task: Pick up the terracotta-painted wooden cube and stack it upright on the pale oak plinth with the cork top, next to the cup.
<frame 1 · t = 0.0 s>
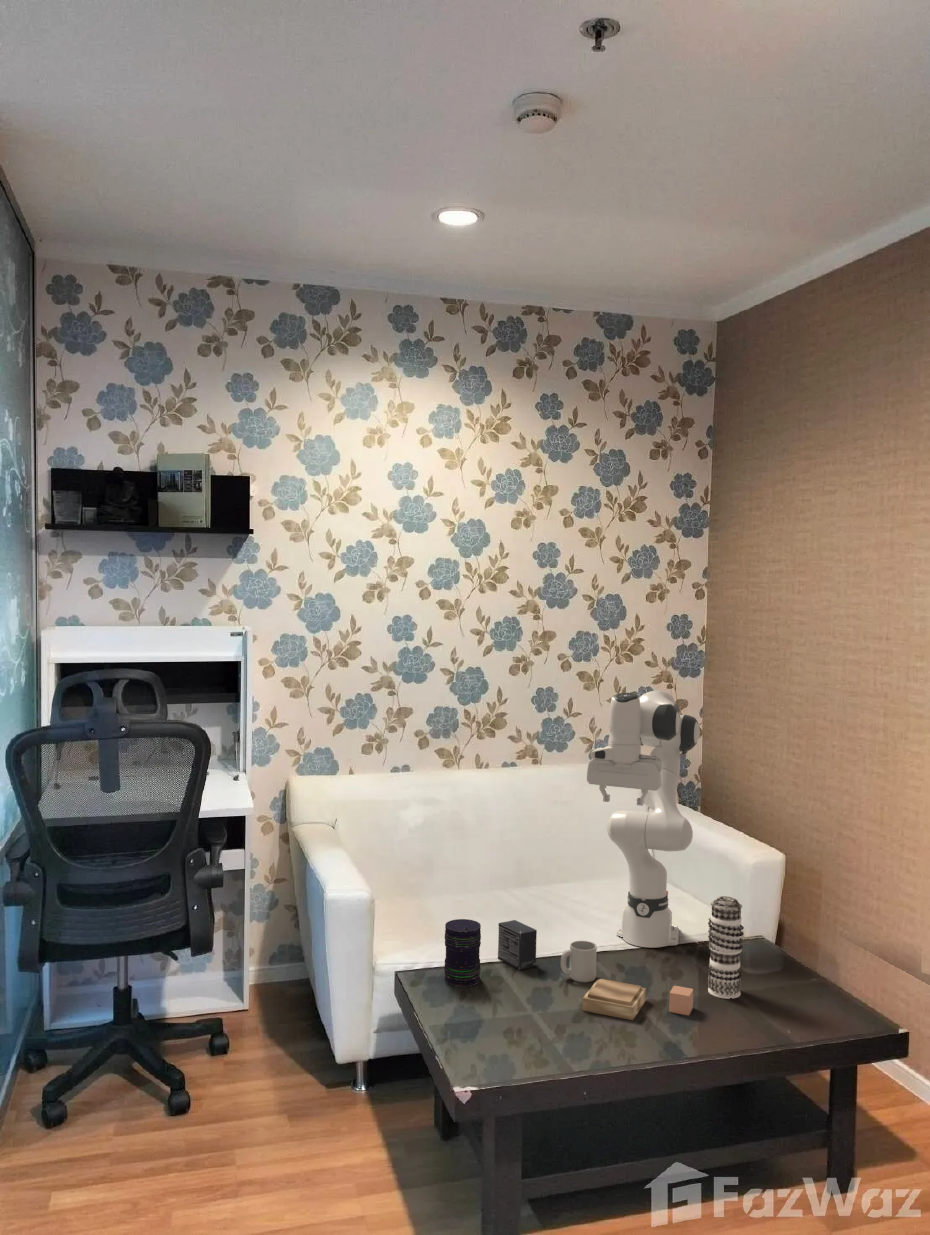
hand: (623, 803, 275), 48 cm above the table, fingers open, 8 cm apart
plinth: (614, 1005, 258), on the table
cup: (577, 978, 276), on the table
storage jar: (462, 980, 273), on the table
small box: (517, 963, 286), on the table
decorative candle: (724, 992, 267), on the table
cube: (681, 1010, 256), on the table
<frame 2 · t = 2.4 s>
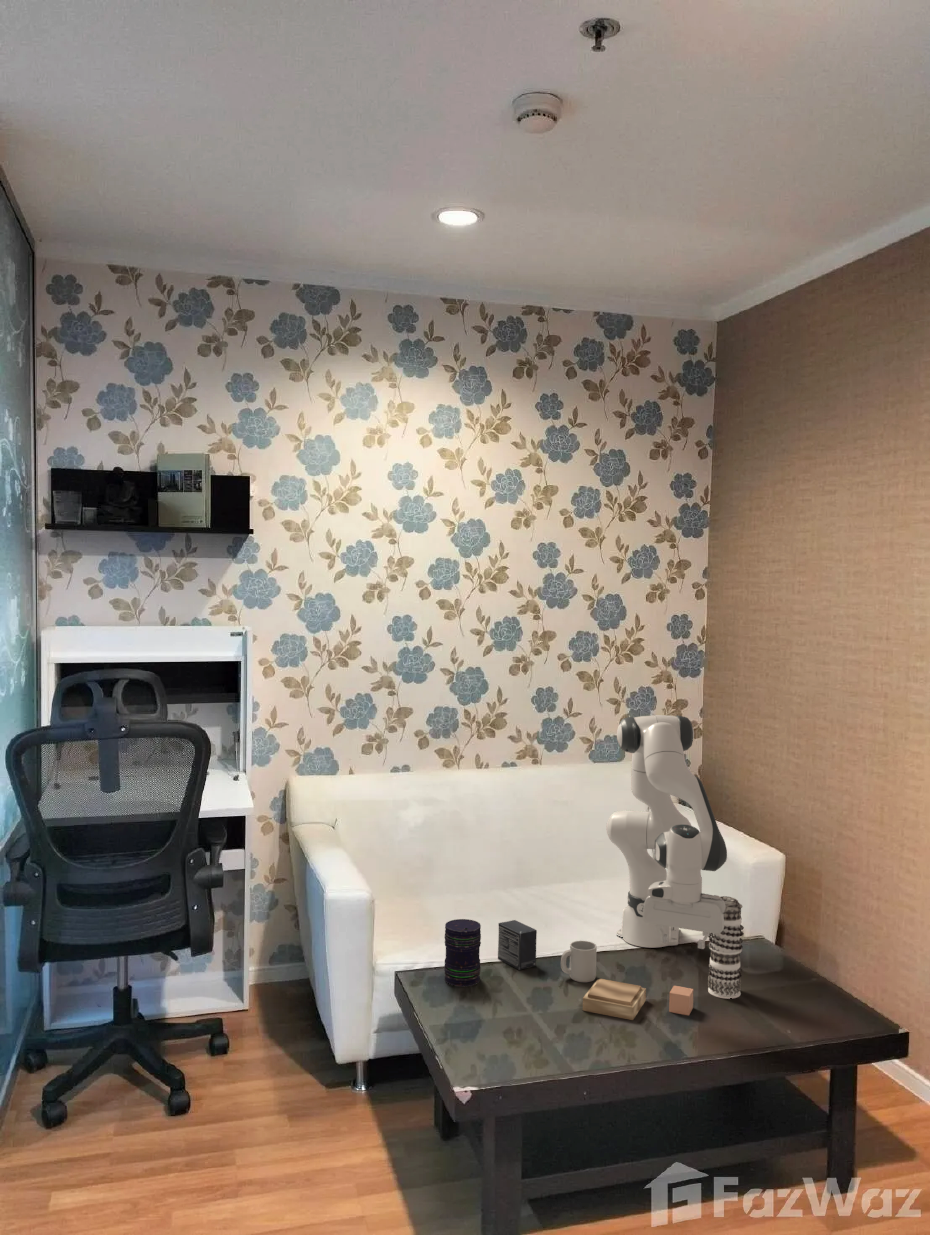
hand: (682, 944, 255), 17 cm above the table, fingers open, 8 cm apart
nothing on the table moved.
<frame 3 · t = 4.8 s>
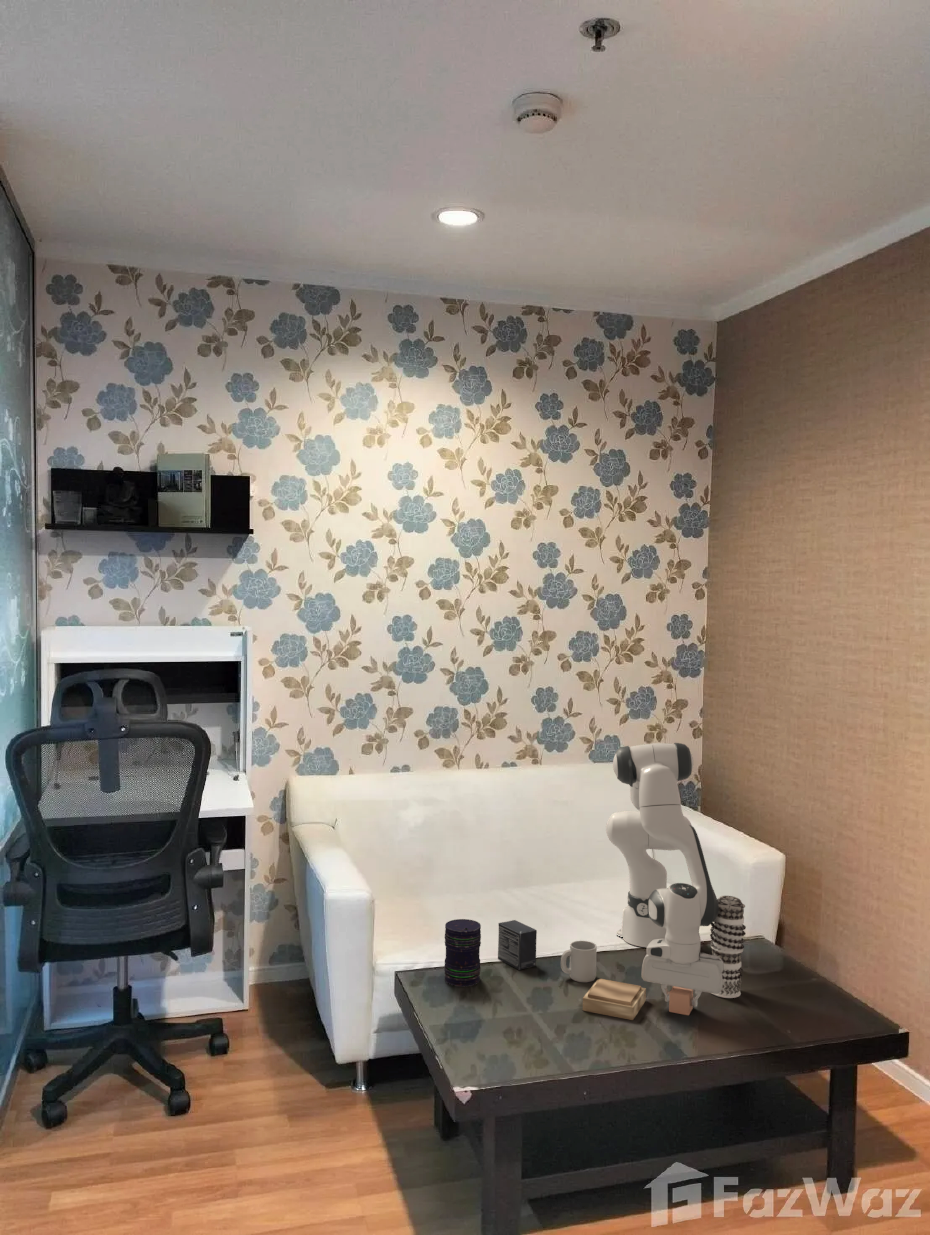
hand: (681, 1003, 256), 2 cm above the table, fingers closed on cube, 5 cm apart
decorative candle: (724, 992, 267), on the table, touching arm
cube: (681, 1009, 256), on the table, touching gripper
everything else where it was.
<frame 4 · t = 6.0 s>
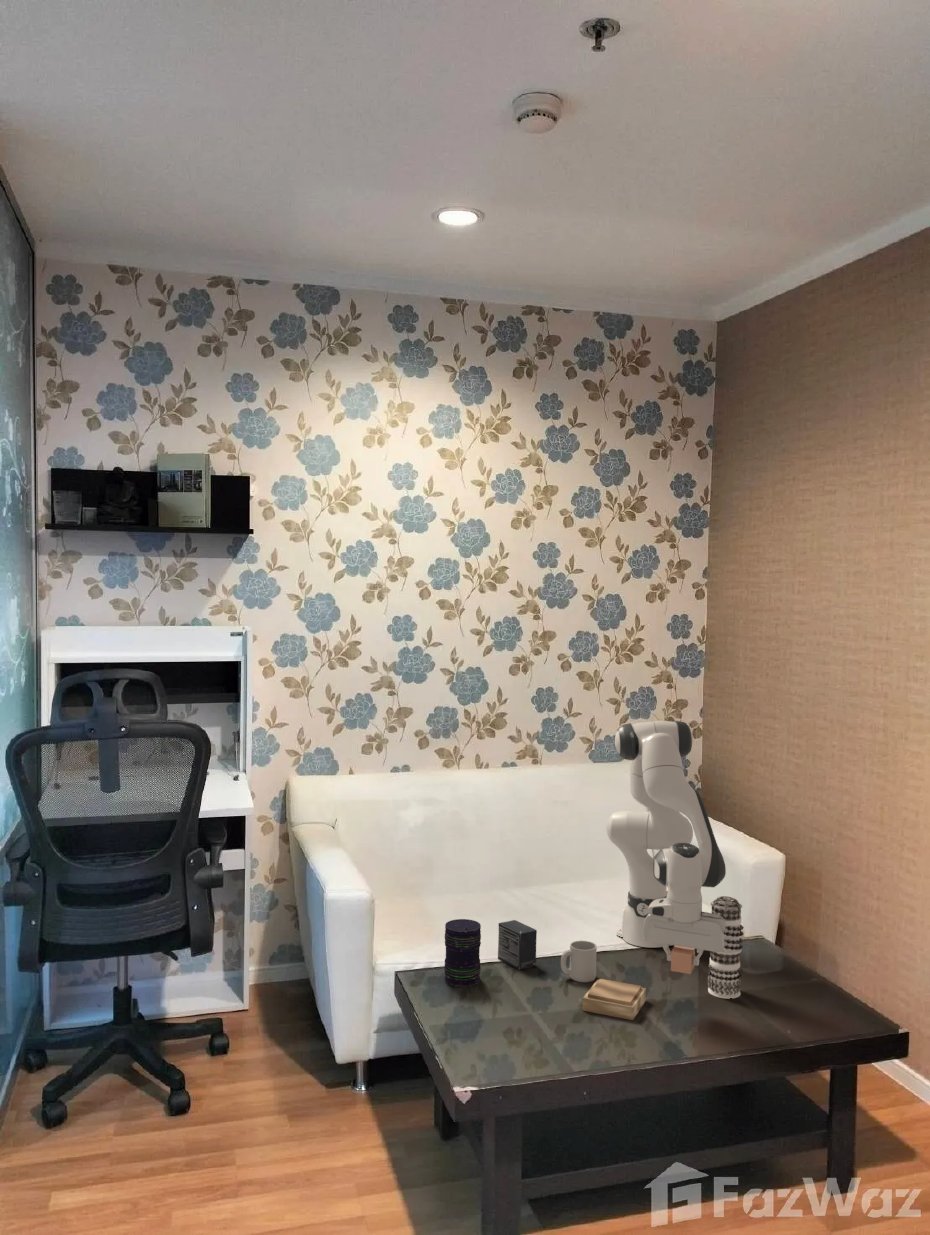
hand: (682, 962, 256), 12 cm above the table, fingers closed on cube, 5 cm apart
decorative candle: (723, 992, 267), on the table
cube: (682, 968, 256), point 10 cm above the table, touching gripper
everything else where it was.
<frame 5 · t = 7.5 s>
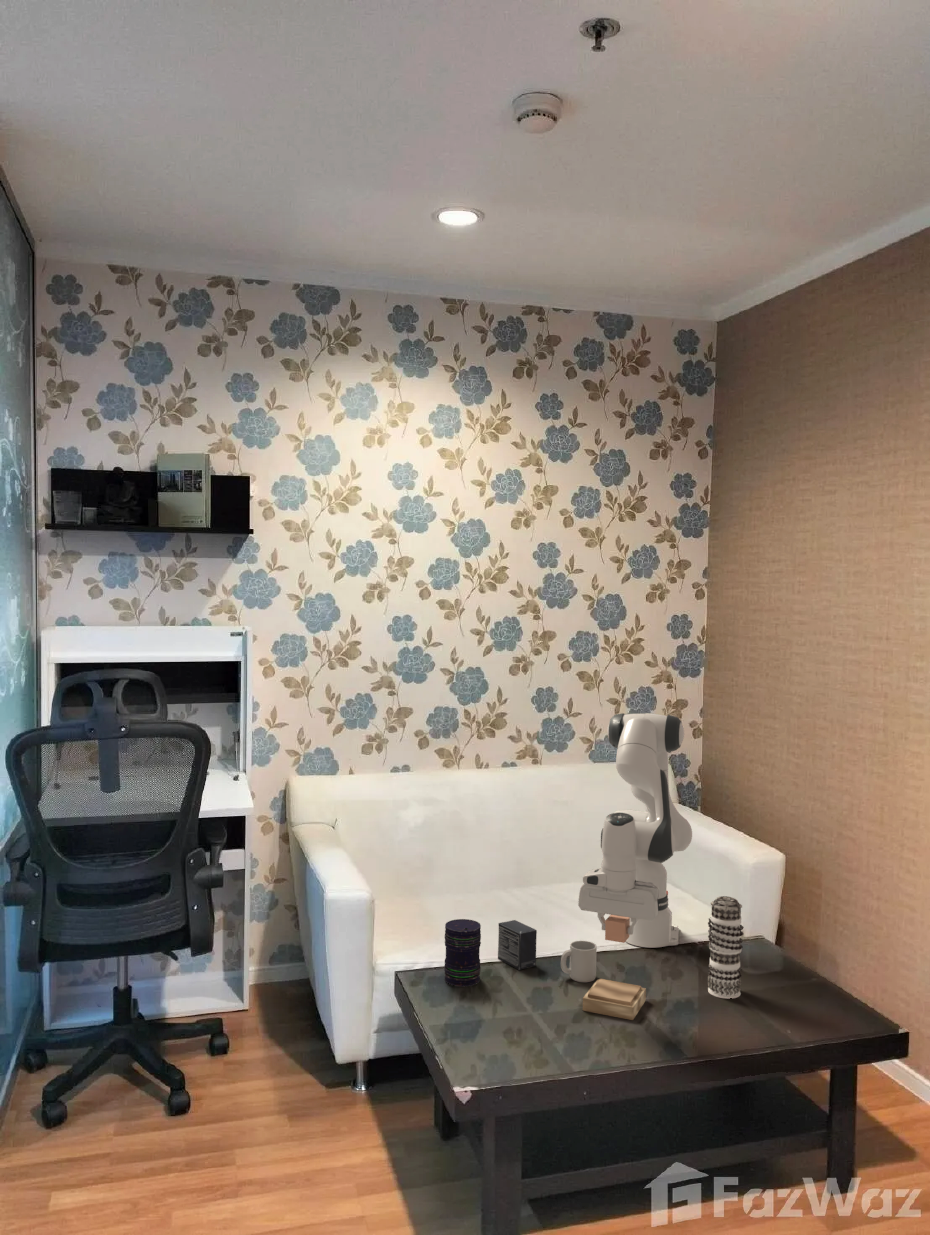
hand: (617, 931, 257), 19 cm above the table, fingers closed on cube, 5 cm apart
cube: (617, 938, 257), point 18 cm above the table, touching gripper
everything else where it was.
when the fingers open (7 cm above the table, at t = 10.6 s): cube drops 1 cm, resting on plinth.
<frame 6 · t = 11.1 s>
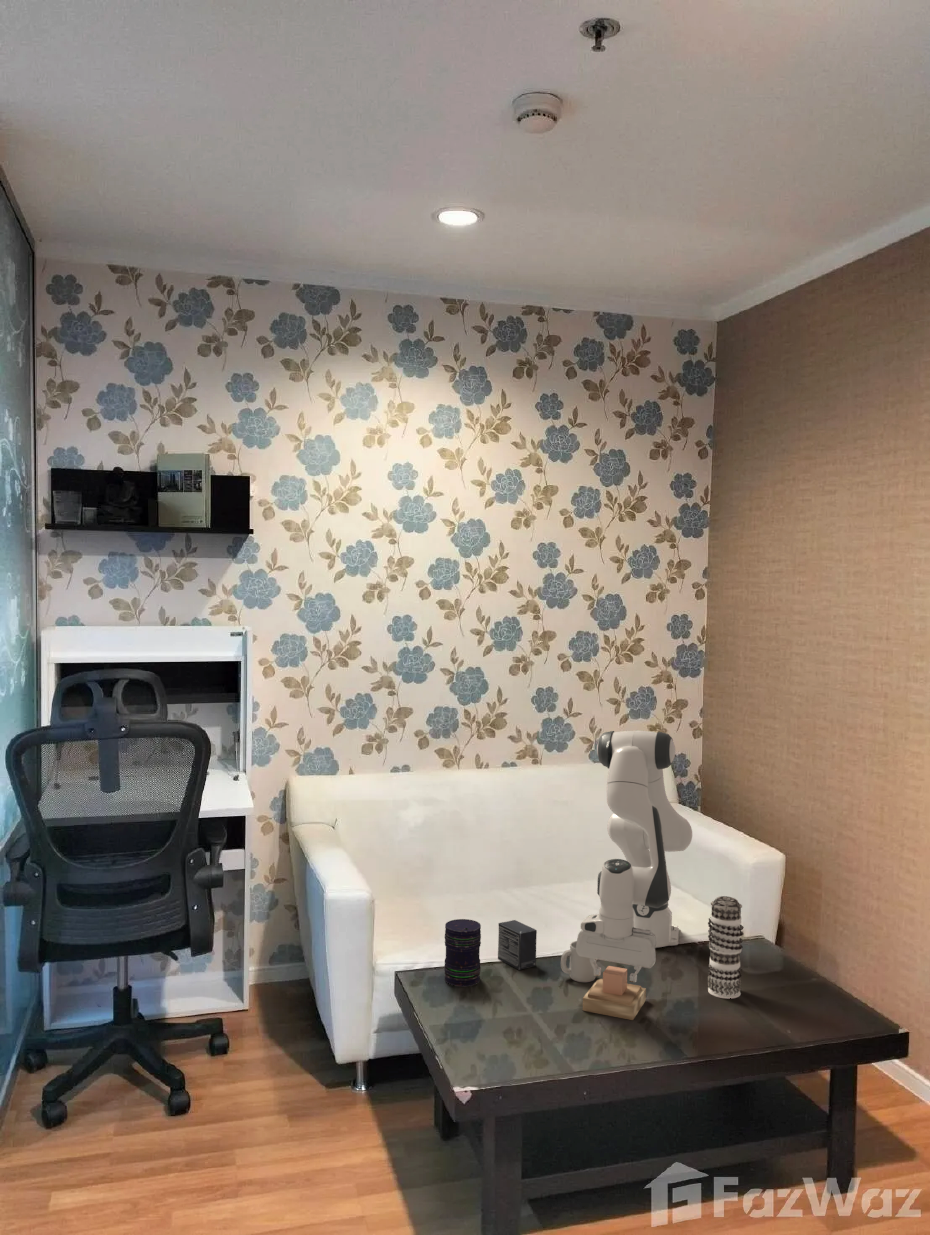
hand: (615, 978, 258), 7 cm above the table, fingers open, 8 cm apart
cube: (614, 990, 258), point 4 cm above the table, touching plinth
everything else where it was.
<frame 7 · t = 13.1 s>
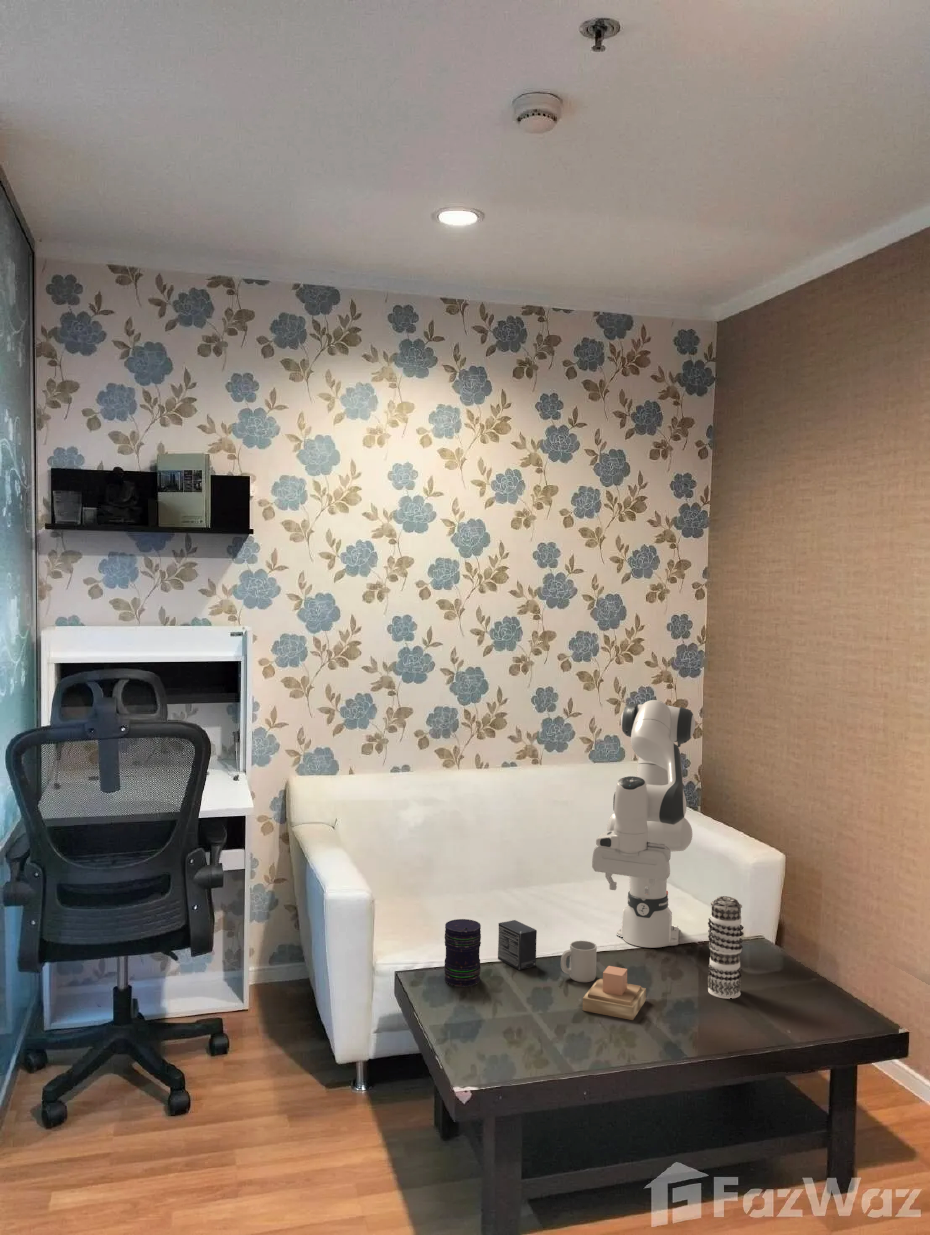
hand: (630, 891, 264), 27 cm above the table, fingers open, 8 cm apart
nothing on the table moved.
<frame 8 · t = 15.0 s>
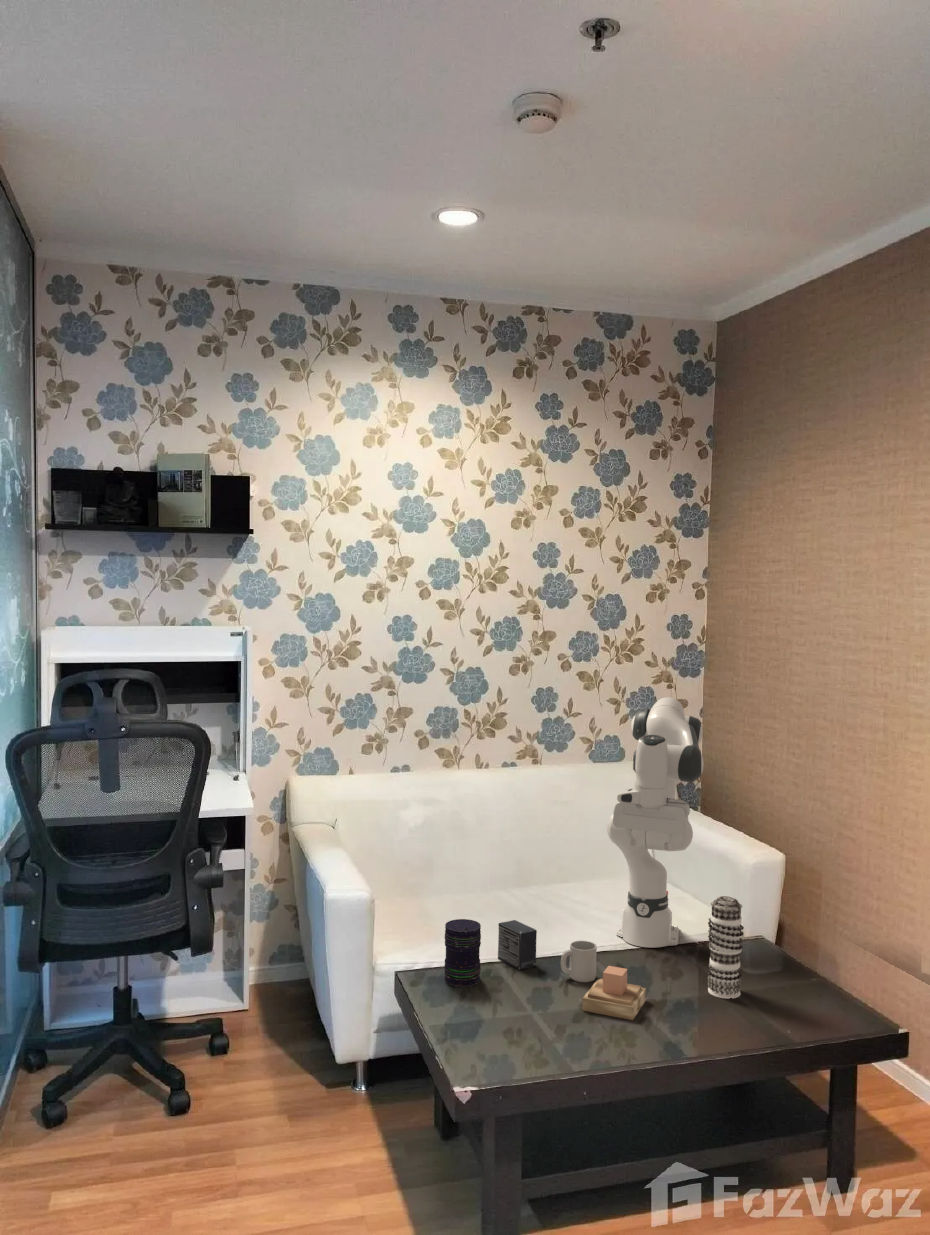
hand: (649, 847, 271), 37 cm above the table, fingers open, 8 cm apart
nothing on the table moved.
at the end: cube 0.0 cm from the plinth (horizontally); cube touching plinth; cube point 4.0 cm above the table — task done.
